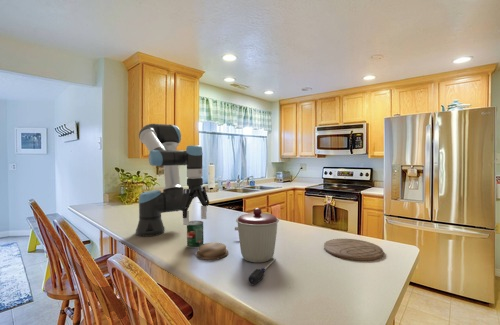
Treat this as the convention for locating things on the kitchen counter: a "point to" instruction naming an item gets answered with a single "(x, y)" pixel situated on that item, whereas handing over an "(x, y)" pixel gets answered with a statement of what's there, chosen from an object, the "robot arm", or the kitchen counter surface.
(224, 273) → the kitchen counter surface
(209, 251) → the pedestal
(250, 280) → the screwdriver
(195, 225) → the canned tomato
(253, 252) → the canister
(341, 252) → the trivet
